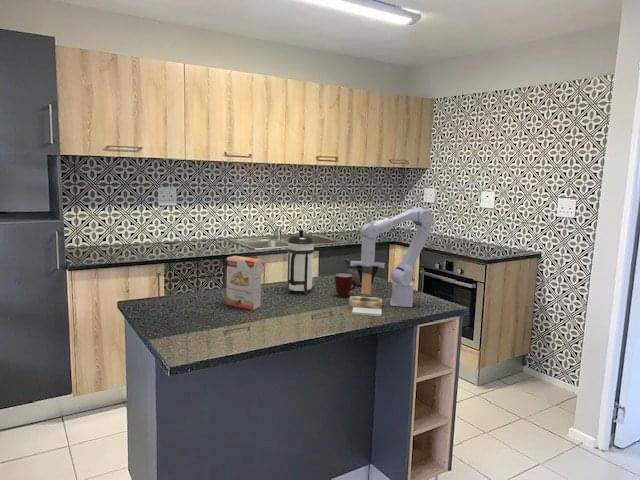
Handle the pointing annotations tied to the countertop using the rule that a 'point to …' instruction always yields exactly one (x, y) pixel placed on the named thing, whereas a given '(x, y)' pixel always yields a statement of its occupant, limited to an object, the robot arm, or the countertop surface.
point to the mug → (344, 284)
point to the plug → (366, 284)
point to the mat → (367, 311)
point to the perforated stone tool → (354, 276)
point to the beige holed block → (365, 302)
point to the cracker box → (244, 282)
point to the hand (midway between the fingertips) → (366, 283)
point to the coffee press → (300, 263)
